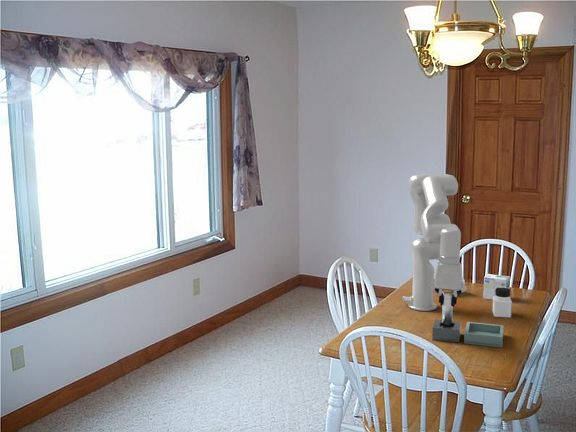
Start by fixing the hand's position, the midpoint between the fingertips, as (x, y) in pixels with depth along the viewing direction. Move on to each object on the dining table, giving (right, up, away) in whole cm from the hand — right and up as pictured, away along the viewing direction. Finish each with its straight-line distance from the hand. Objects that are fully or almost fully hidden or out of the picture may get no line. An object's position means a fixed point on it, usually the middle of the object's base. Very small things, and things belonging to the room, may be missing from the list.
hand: (447, 304), depth 257 cm
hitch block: (0, -13, +2) cm, 13 cm away
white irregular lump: (+17, -3, +60) cm, 62 cm away
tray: (+14, -13, -1) cm, 19 cm away
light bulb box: (+35, -4, +51) cm, 62 cm away
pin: (0, -7, +1) cm, 7 cm away
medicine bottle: (+30, -8, +28) cm, 42 cm away
